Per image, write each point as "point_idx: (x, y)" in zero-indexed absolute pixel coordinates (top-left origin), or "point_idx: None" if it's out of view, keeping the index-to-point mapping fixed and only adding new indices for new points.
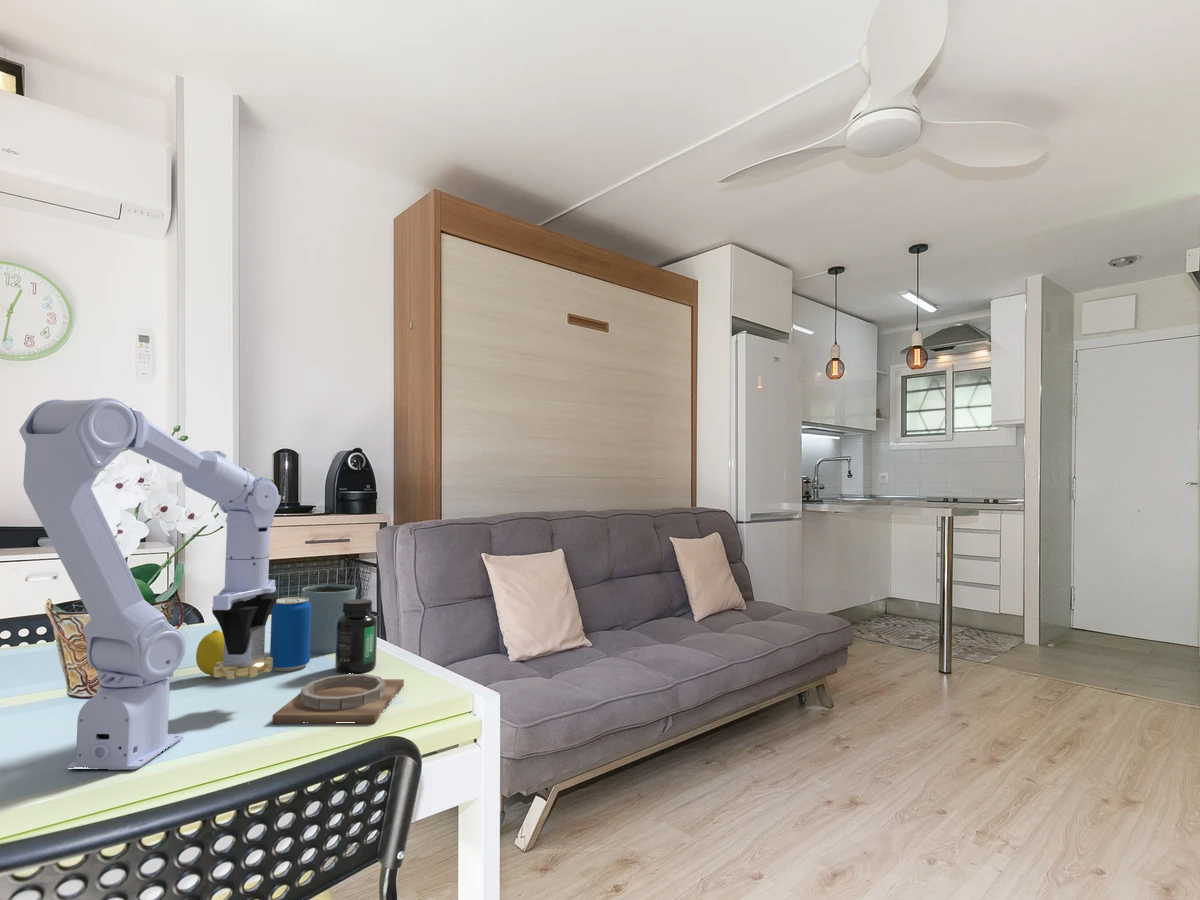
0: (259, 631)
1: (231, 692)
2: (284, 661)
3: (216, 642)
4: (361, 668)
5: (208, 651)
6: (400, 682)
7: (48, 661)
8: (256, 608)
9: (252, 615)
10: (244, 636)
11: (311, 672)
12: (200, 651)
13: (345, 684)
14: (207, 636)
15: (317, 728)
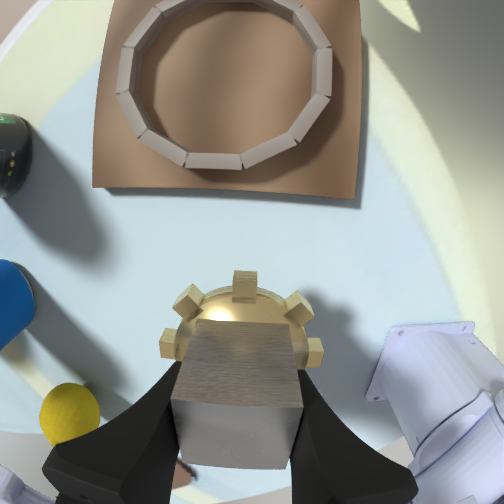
0: (229, 394)
1: (147, 347)
2: (24, 300)
3: (73, 431)
4: (23, 126)
5: (89, 429)
6: None
7: None
8: (350, 491)
9: (343, 467)
10: (329, 409)
11: (27, 238)
12: None
13: (138, 95)
14: None
15: (378, 97)
